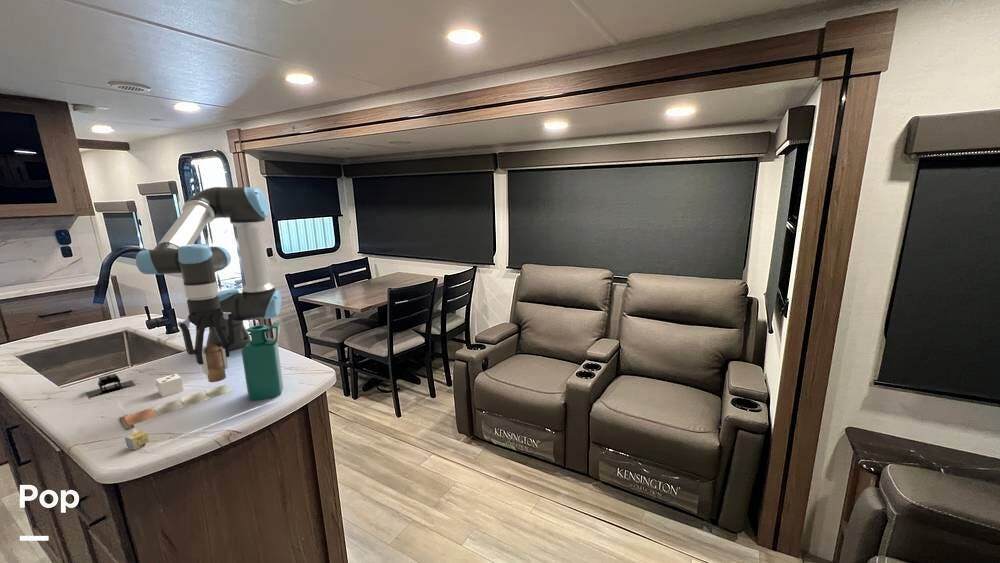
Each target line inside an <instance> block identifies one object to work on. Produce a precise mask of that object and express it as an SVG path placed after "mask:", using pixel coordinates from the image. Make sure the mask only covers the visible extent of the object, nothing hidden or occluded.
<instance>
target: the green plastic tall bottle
mask: <svg viewBox="0 0 1000 563" xmlns="http://www.w3.org/2000/svg"><path fill="white" fill-rule="evenodd" d="M273 329H275V338H271V337H268V338H267V335H266V334H267V333H268V332H270V331H272V330H273ZM246 331H247V332H248V333H250V339H251V341H249V342H247V343H246V344H245V346H244V347H242V349H241V359H242V364H243V370H244V379H245V384H246V391H247V392H246V393H247V397H248V398H247V399H248V401H250V402H258V401H263V400H269V399H275V398H277V397H279V396H281V395H282V393H283V390H284V382H283V375H282V366H281V358H280V350H279V345H278V339H279V336H280V332H281V323H280V321H279V322H278V321H276V322H275V321H274V323H273V324H271V325H270V326H268V325H265V324H262V325H261V324H259V325H254V326H250V327H248V328H246Z"/></svg>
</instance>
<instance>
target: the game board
mask: <svg viewBox="0 0 1000 563" xmlns="http://www.w3.org/2000/svg"><path fill="white" fill-rule="evenodd" d="M233 391H234V390H233V389H232V388H230V387H229V386H228V385H226V384H224V385H221V386H217V387H213V388H210V389H206V390H204V392H203V391H200V392H198V393H194V394H191V395H188V396H185V397H182V398H179V399H175V400H172V401H169V402H166V403H164V404H163V403H162V404H159V405H157V406H153V407H152V408H151V407H150V408H147V409H144V410H141V411H137V412H135V413H131V414H126V415H123V416H119V420H120V421H121V422H122V425H123V427H124V428H125V430H126V431H127V430H130V429H133V428H135V424H138V423H141V422H143V421H147V420H150V419H152V418H156V417H157V415H158V416H161V415H165V414H167V413H171V412H174V411H176V410H177V411H178V410H180V409H183V408H185V407H190V406H191V405H195V404H199V403H201V402H204V401H206V400H211V399H213V398H216V397H219V396H222V395H225V394H228V393H231V392H233ZM207 395H208V396H207ZM210 398H211V399H210Z"/></svg>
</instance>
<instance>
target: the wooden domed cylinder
mask: <svg viewBox="0 0 1000 563" xmlns="http://www.w3.org/2000/svg"><path fill="white" fill-rule="evenodd" d="M203 352H204V353H205V354H206V360H207V365H208V371H209V374H207V375H206V376H207V381H208V382H209V383H217V382H221V381H223V380H226V378H227V375H226V369H225V368H224V362H223V357H222V351H221V350H220V349H219V346H217V345H215V344H210V345H208V346H207V347H206V346H205V348H204V351H203Z"/></svg>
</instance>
